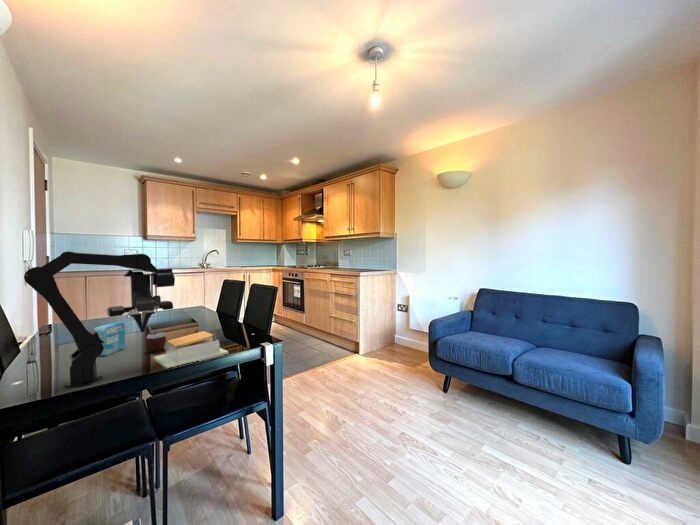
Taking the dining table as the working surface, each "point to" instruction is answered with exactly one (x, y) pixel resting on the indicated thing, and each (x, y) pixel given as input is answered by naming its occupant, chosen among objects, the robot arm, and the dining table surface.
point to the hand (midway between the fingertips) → (142, 332)
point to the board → (169, 362)
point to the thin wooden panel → (190, 339)
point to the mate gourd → (155, 341)
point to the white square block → (193, 349)
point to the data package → (112, 337)
